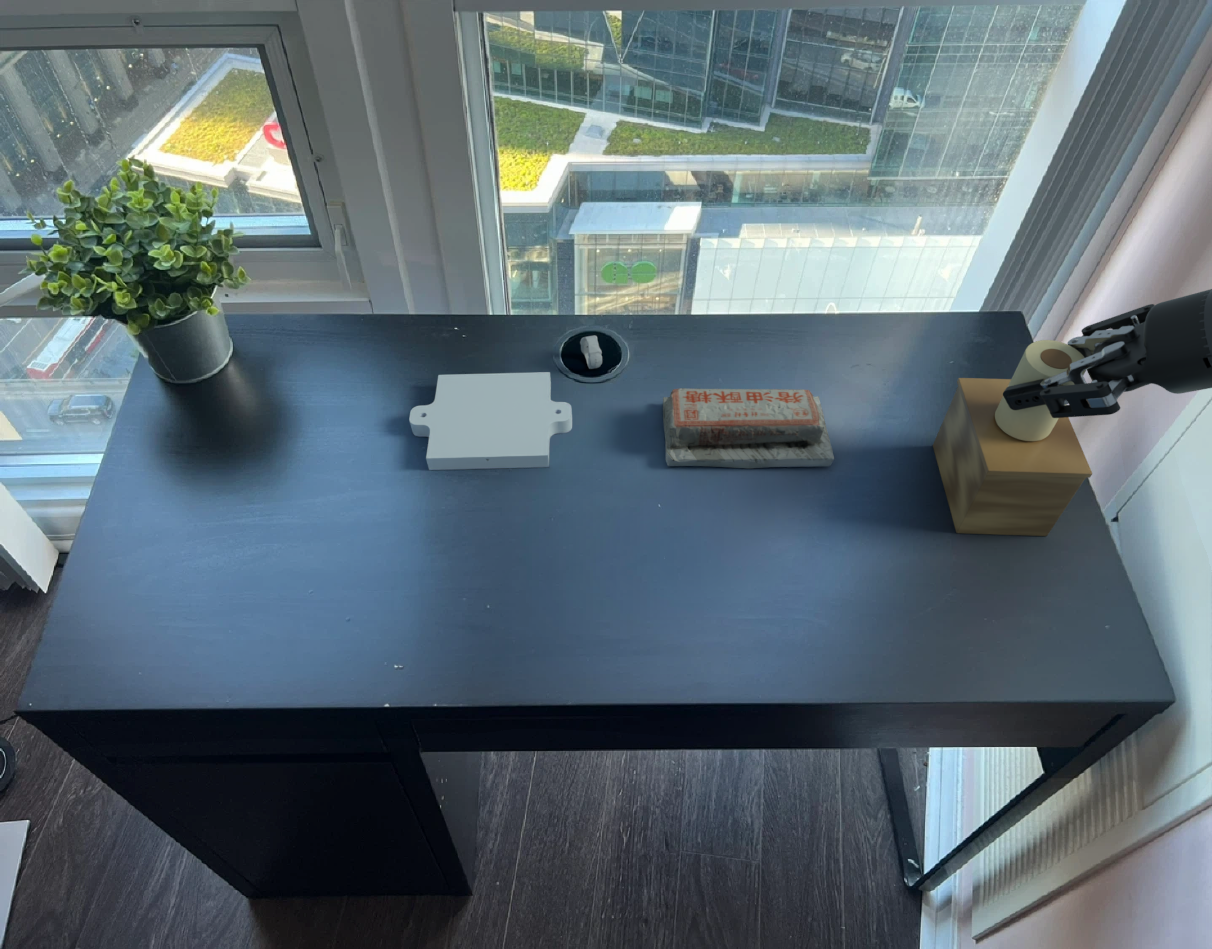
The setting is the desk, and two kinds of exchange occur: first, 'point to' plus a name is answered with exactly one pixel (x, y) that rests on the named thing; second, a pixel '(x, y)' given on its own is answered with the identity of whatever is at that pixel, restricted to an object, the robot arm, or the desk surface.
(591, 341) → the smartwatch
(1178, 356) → the robot arm
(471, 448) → the mounting plate
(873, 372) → the desk surface
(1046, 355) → the toilet paper roll
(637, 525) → the desk surface
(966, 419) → the oak box
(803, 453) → the packaged product
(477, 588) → the desk surface
